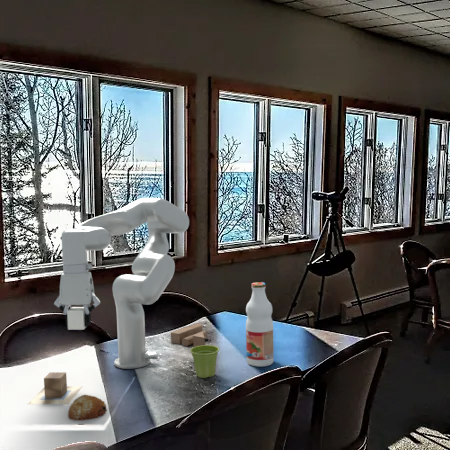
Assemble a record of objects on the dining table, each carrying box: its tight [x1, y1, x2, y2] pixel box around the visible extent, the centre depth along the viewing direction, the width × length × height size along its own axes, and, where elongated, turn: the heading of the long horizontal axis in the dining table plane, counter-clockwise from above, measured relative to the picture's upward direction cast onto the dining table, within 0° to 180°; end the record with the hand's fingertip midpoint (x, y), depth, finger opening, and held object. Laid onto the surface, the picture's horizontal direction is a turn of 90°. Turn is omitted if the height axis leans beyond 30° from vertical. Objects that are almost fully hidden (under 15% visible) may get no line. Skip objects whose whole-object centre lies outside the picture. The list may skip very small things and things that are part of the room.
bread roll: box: [67, 394, 108, 426], centre depth 160 cm, size 10×10×8 cm
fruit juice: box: [245, 281, 275, 368], centre depth 200 cm, size 9×9×28 cm
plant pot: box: [189, 344, 220, 379], centre depth 190 cm, size 9×9×9 cm
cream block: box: [67, 306, 87, 331], centre depth 183 cm, size 5×5×6 cm
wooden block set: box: [170, 323, 208, 347], centre depth 230 cm, size 17×6×18 cm
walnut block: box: [43, 371, 68, 398], centre depth 173 cm, size 5×5×6 cm
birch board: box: [27, 385, 83, 405], centre depth 173 cm, size 12×14×1 cm
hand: (78, 325), depth 183 cm, fingers closed on cream block, 5 cm apart
